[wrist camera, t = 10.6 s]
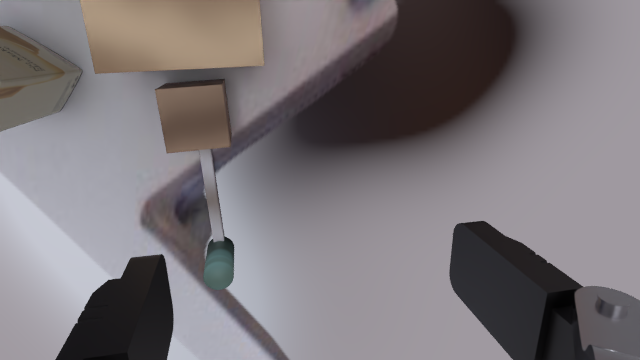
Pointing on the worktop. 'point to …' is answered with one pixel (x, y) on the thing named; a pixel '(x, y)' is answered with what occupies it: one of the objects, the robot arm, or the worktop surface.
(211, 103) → the mallet
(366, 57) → the worktop surface
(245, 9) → the oak cubby
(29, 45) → the skincare box
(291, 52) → the worktop surface
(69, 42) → the worktop surface
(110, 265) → the worktop surface
